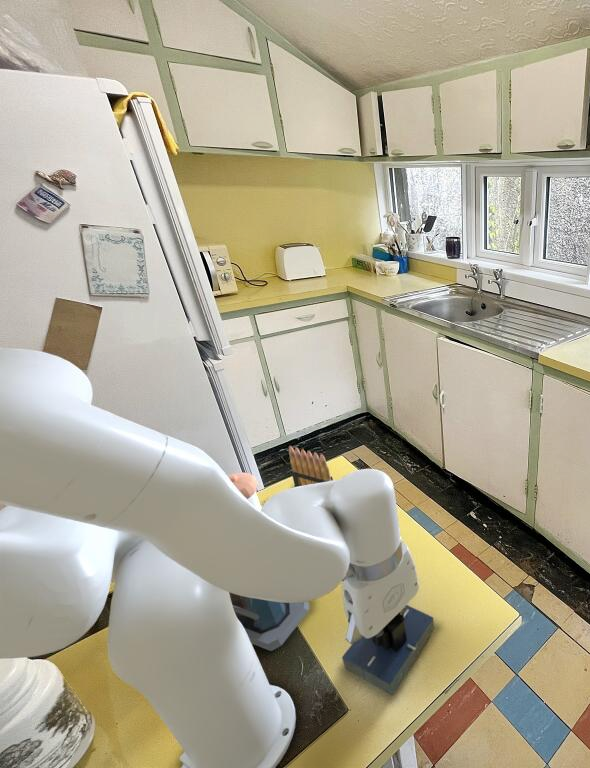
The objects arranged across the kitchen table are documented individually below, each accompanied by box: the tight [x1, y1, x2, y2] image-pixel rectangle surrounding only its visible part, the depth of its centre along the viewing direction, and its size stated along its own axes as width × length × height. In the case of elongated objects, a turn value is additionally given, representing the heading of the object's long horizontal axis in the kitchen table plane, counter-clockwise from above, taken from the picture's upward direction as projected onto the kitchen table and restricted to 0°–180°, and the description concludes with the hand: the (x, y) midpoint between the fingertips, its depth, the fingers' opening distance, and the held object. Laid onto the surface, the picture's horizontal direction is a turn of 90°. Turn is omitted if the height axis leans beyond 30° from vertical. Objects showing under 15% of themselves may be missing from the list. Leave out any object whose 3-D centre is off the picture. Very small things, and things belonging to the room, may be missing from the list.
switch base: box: [341, 604, 435, 696], centre depth 65 cm, size 11×10×3 cm
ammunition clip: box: [288, 445, 334, 487], centre depth 95 cm, size 11×2×12 cm, turn 71°
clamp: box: [229, 592, 311, 652], centre depth 68 cm, size 35×9×21 cm, turn 73°
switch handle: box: [384, 615, 407, 652], centre depth 63 cm, size 6×2×5 cm, turn 55°
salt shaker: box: [227, 472, 262, 511], centre depth 78 cm, size 7×7×19 cm
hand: (389, 634), depth 64 cm, fingers closed on switch handle, 2 cm apart
